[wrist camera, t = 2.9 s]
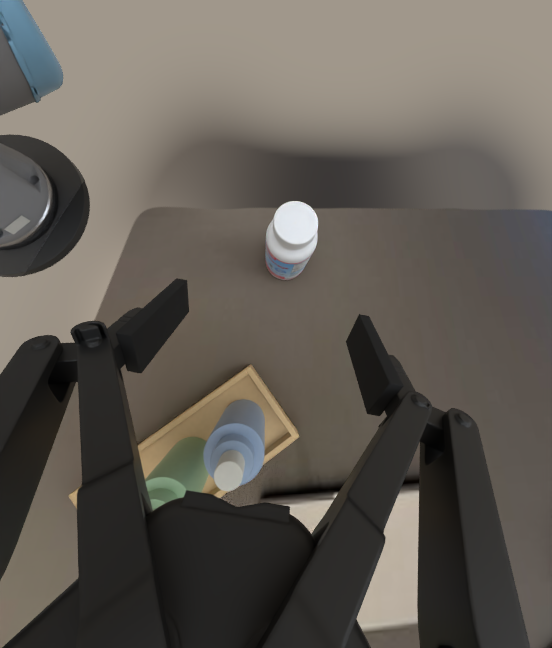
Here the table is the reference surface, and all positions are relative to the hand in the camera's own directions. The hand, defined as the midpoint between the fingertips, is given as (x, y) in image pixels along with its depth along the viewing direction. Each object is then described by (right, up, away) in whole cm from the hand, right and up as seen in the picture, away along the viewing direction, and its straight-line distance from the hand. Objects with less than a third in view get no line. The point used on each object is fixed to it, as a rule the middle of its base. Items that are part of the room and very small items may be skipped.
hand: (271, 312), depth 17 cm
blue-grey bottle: (-4, -14, +14) cm, 20 cm away
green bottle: (-11, -19, +13) cm, 26 cm away
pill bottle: (+2, +9, +17) cm, 19 cm away
